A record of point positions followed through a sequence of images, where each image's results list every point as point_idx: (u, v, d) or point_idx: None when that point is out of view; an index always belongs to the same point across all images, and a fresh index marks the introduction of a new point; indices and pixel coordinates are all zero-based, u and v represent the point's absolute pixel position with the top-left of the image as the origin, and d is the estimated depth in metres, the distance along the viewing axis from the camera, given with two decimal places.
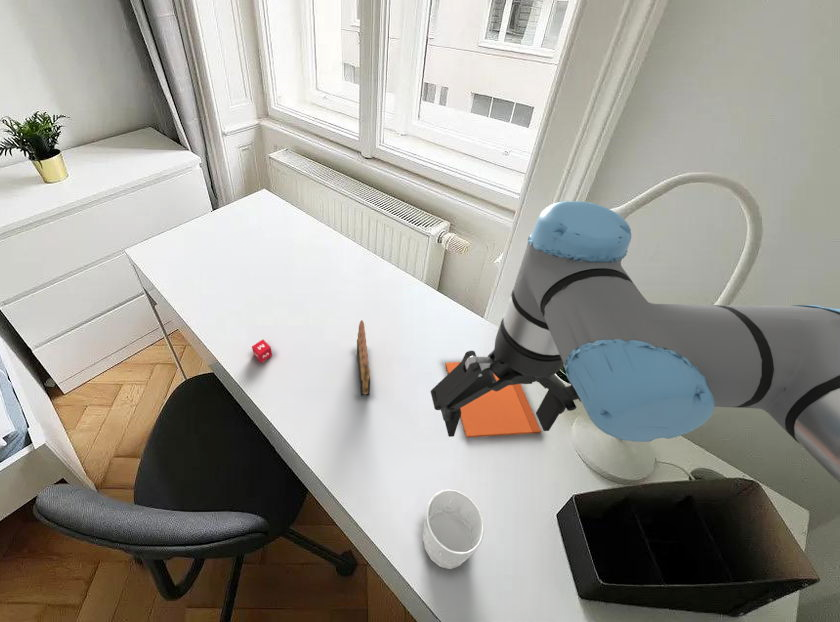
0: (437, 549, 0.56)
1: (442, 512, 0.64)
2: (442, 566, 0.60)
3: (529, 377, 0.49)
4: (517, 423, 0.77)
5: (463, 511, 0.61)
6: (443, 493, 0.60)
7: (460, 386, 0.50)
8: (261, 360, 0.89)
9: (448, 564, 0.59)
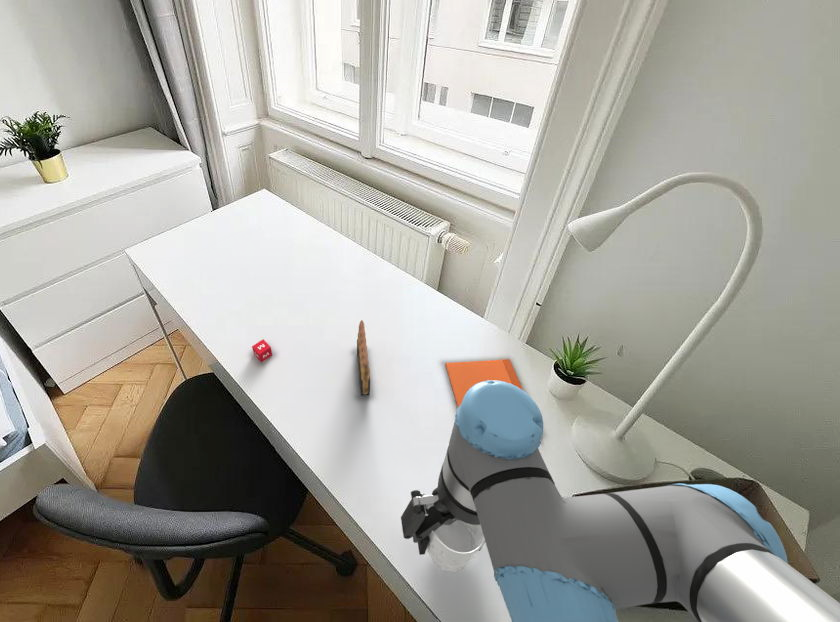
0: (439, 550, 0.55)
1: None
2: (445, 568, 0.59)
3: None
4: None
5: None
6: None
7: (414, 523, 0.53)
8: (261, 360, 0.89)
9: (451, 566, 0.57)
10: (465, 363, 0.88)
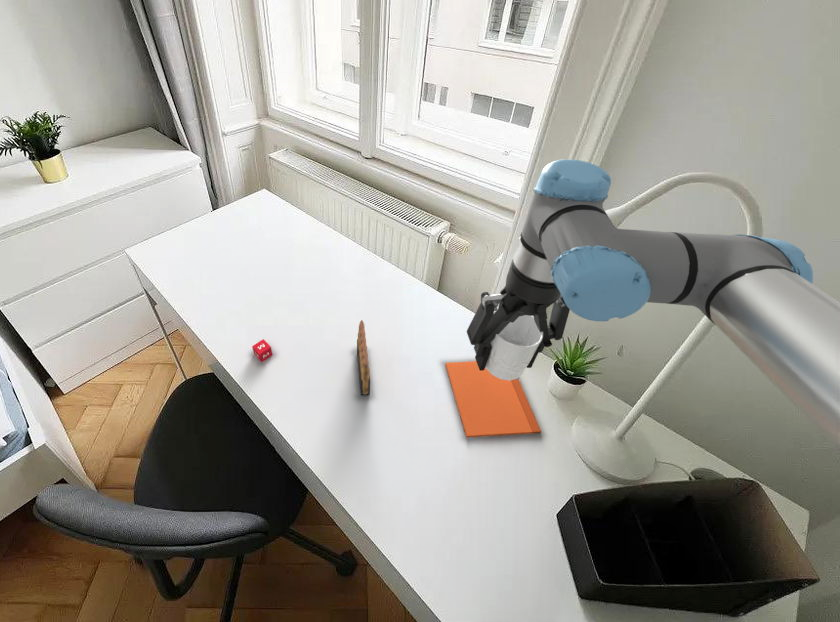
0: (502, 351, 0.65)
1: None
2: (503, 377, 0.69)
3: (533, 309, 0.61)
4: (517, 423, 0.77)
5: (521, 331, 0.70)
6: None
7: (483, 321, 0.62)
8: (261, 360, 0.89)
9: (509, 370, 0.67)
10: (465, 363, 0.88)
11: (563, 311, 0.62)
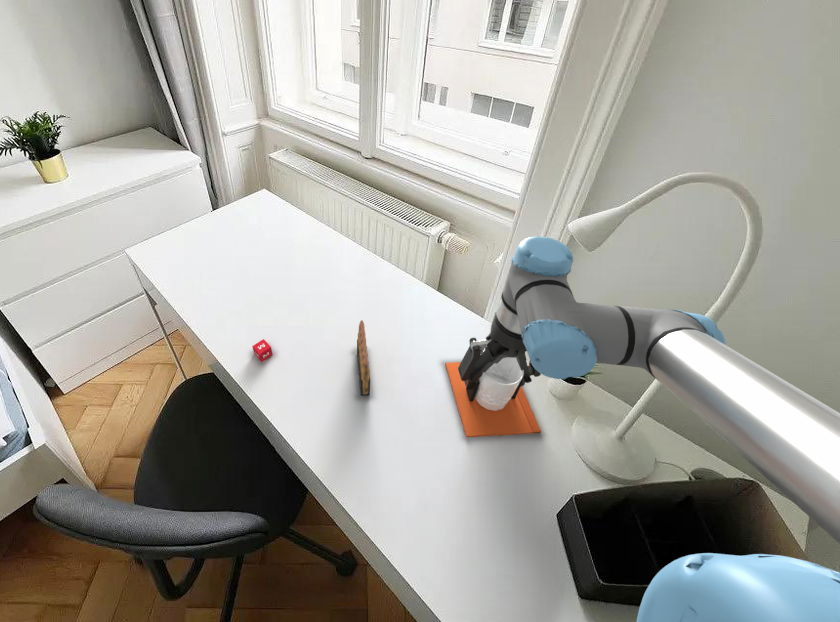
0: (488, 386, 0.75)
1: (487, 372, 0.82)
2: (489, 408, 0.79)
3: (514, 352, 0.71)
4: (517, 423, 0.77)
5: (505, 367, 0.80)
6: None
7: (472, 362, 0.72)
8: (261, 360, 0.89)
9: (495, 403, 0.77)
10: None
11: None
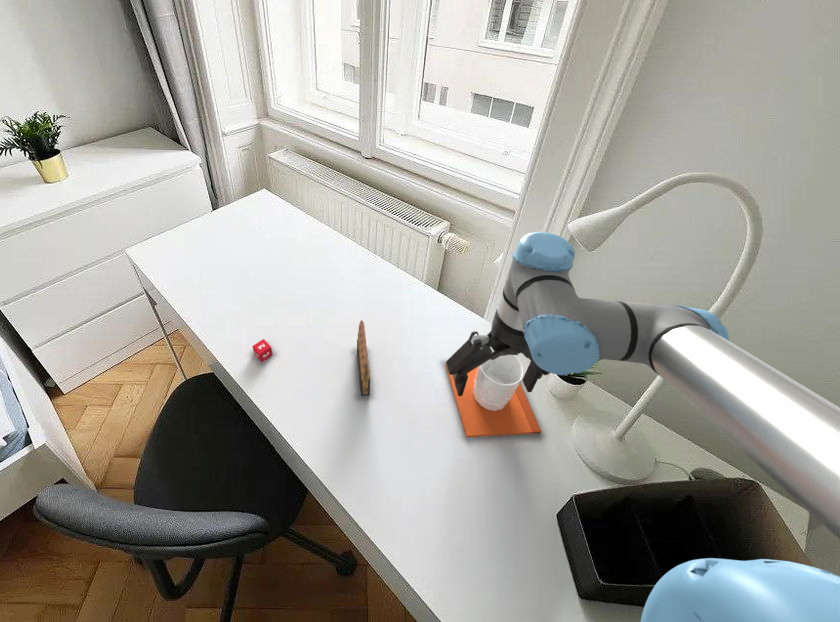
0: (488, 387, 0.75)
1: (487, 372, 0.82)
2: (489, 408, 0.79)
3: (515, 350, 0.71)
4: (517, 423, 0.77)
5: (505, 367, 0.80)
6: None
7: (468, 356, 0.71)
8: (261, 360, 0.89)
9: (495, 403, 0.77)
10: None
11: None
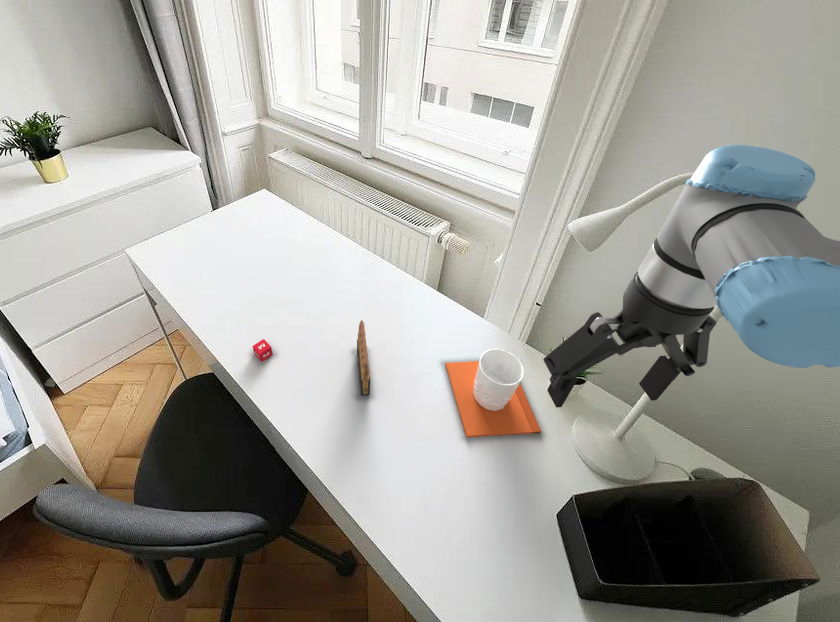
0: (488, 387, 0.75)
1: (488, 372, 0.82)
2: (489, 408, 0.79)
3: (655, 339, 0.48)
4: (517, 423, 0.77)
5: (505, 367, 0.80)
6: (490, 351, 0.78)
7: (586, 349, 0.48)
8: (262, 359, 0.89)
9: (495, 403, 0.77)
10: (465, 363, 0.88)
11: (701, 336, 0.48)
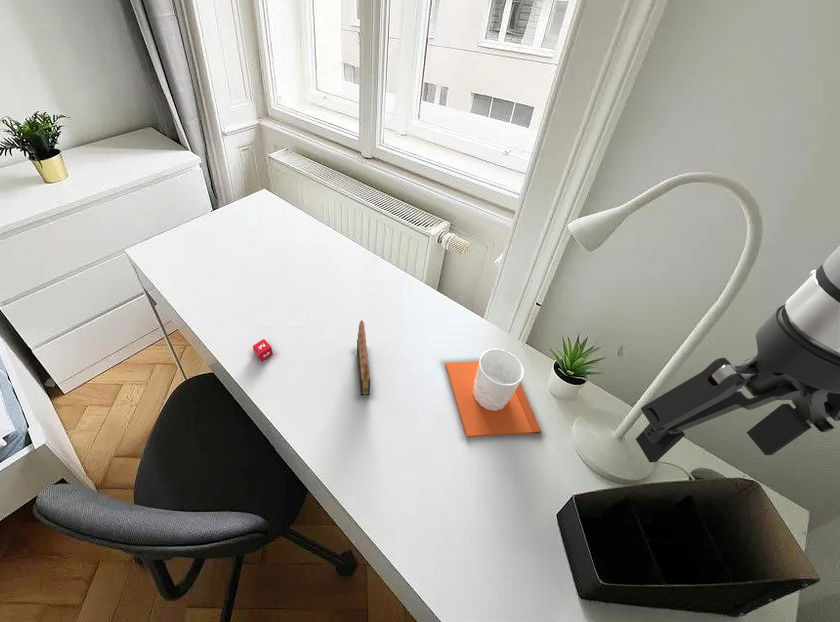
0: (488, 387, 0.75)
1: (487, 372, 0.82)
2: (489, 408, 0.79)
3: None
4: (517, 423, 0.77)
5: (505, 367, 0.80)
6: (490, 351, 0.78)
7: (706, 403, 0.39)
8: (262, 359, 0.89)
9: (495, 403, 0.77)
10: (465, 363, 0.88)
11: None
